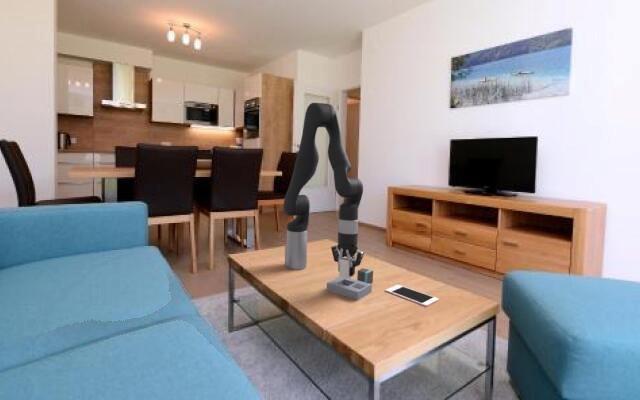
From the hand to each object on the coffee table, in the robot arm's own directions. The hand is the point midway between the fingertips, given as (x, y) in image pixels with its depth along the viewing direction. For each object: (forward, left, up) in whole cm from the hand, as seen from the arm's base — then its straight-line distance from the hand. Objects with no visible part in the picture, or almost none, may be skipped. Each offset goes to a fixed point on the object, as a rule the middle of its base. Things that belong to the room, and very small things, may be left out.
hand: (346, 274), depth 132 cm
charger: (0, 0, -1) cm, 1 cm away
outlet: (+1, 0, -6) cm, 6 cm away
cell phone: (+21, +12, -7) cm, 26 cm away
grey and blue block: (+1, +12, -6) cm, 14 cm away
